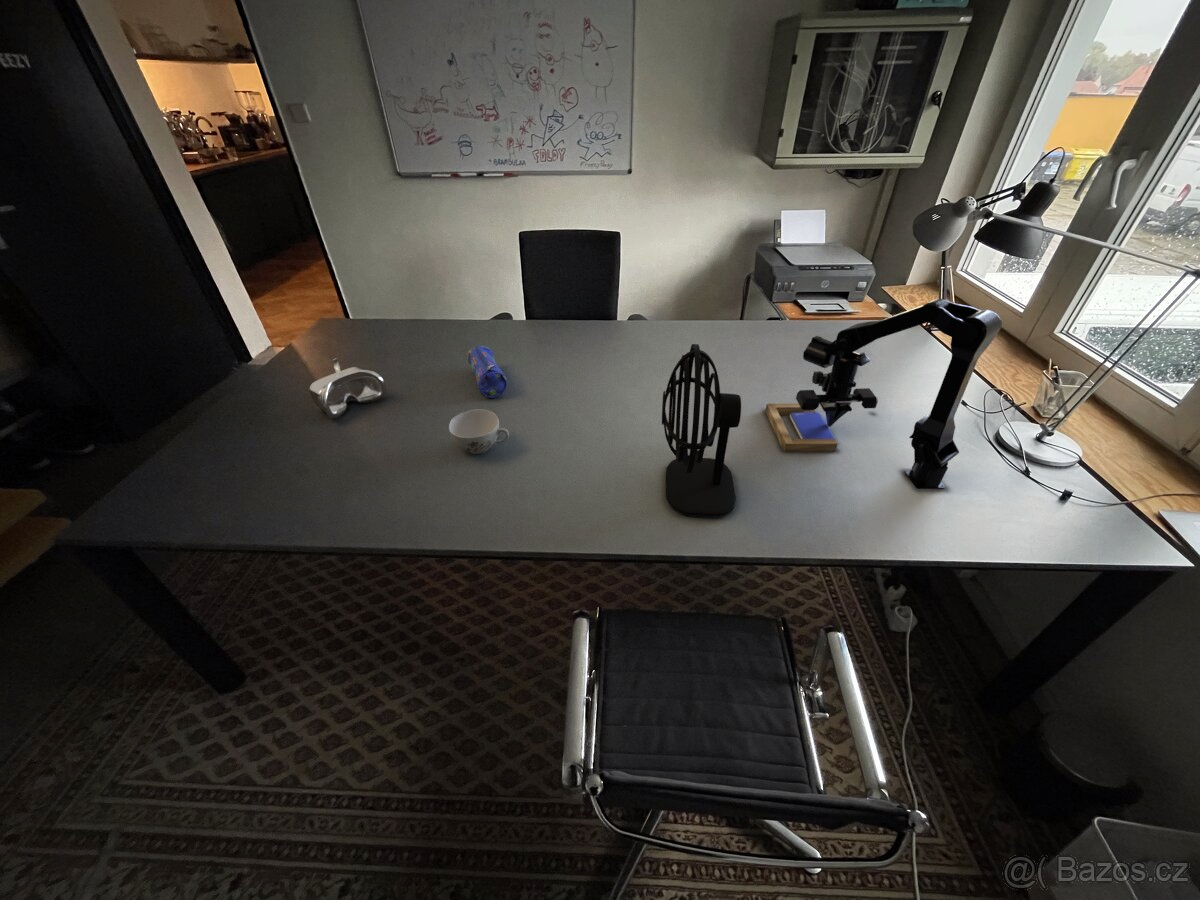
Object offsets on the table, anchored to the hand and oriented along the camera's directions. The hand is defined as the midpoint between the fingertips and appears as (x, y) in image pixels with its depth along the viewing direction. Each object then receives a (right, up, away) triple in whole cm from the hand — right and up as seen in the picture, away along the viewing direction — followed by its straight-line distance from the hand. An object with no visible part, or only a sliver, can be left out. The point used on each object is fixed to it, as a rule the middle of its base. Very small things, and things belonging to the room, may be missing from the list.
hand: (828, 425), depth 135 cm
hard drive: (-4, -1, +1) cm, 5 cm away
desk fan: (-39, -15, -17) cm, 45 cm away
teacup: (-92, -6, -3) cm, 92 cm away
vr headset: (-135, +6, +14) cm, 136 cm away
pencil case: (-96, +14, +24) cm, 100 cm away
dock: (-7, -1, +1) cm, 7 cm away
